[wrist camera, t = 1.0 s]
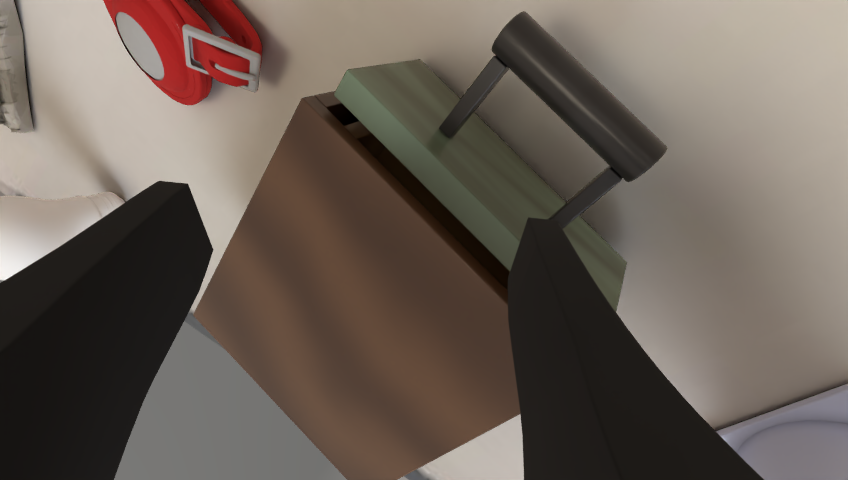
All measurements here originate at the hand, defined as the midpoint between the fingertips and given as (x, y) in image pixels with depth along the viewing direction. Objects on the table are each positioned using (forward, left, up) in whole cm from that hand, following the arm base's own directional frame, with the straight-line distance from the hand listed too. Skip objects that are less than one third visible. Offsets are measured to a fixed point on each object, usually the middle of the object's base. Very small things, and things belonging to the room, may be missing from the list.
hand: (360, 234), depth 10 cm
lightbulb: (+21, +29, -14) cm, 38 cm away
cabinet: (-1, +11, -13) cm, 17 cm away
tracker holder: (+18, +10, -14) cm, 25 cm away
